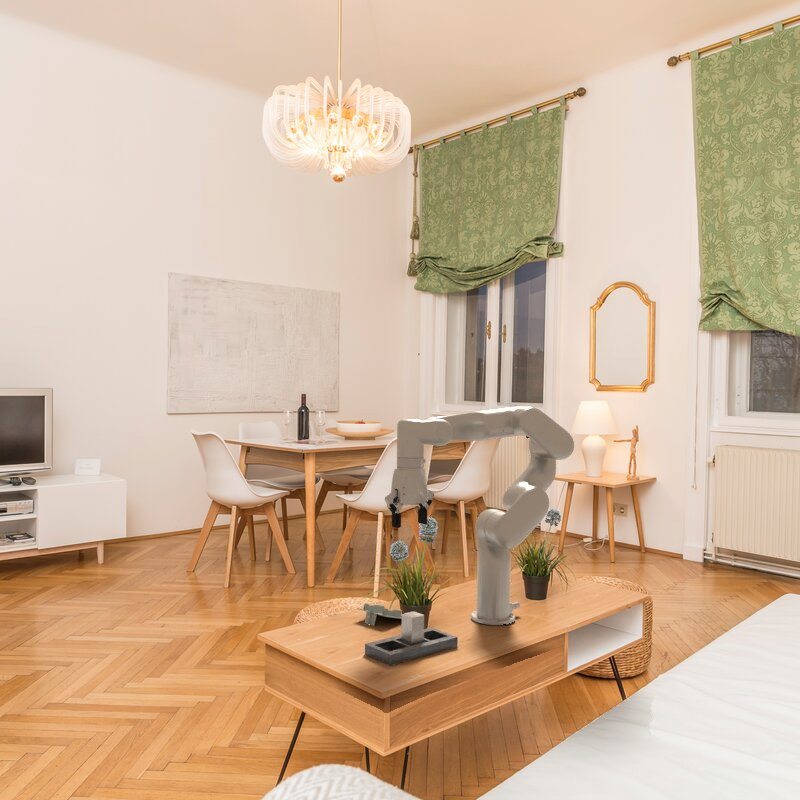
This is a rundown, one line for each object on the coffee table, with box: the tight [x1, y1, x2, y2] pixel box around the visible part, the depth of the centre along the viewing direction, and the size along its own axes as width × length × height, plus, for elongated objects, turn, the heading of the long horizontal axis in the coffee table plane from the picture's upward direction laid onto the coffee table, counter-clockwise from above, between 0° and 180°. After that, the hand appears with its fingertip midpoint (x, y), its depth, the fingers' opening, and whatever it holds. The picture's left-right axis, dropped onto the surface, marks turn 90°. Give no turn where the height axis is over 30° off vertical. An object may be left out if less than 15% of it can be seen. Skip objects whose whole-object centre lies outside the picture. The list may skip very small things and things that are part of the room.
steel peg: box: [400, 611, 425, 646], centre depth 181 cm, size 4×4×9 cm
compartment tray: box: [364, 627, 458, 667], centre depth 181 cm, size 22×10×2 cm, turn 130°
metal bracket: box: [357, 603, 402, 627], centre depth 206 cm, size 14×6×15 cm
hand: (409, 525), depth 200 cm, fingers open, 9 cm apart
